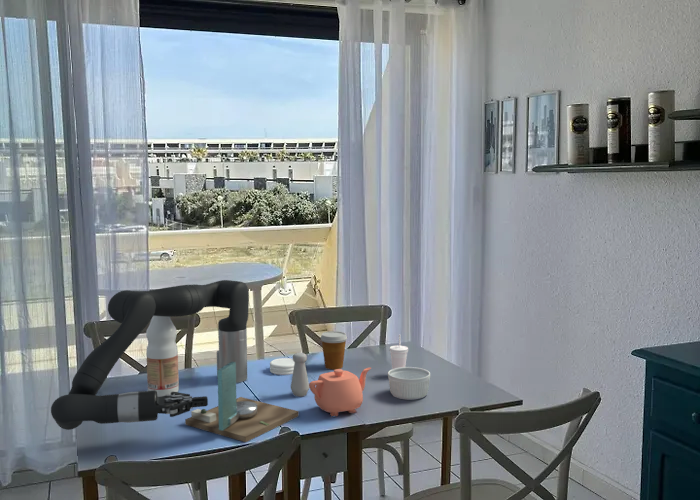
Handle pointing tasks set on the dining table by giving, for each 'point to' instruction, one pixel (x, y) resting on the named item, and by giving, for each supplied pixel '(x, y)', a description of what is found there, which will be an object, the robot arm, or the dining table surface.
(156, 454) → the dining table surface
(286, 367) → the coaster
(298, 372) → the salt shaker
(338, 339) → the disposable coffee cup
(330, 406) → the teapot
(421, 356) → the dining table surface
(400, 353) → the smoothie
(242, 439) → the wooden cutting board
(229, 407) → the teal flat rectangular slab
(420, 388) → the ramekin
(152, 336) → the fruit juice
